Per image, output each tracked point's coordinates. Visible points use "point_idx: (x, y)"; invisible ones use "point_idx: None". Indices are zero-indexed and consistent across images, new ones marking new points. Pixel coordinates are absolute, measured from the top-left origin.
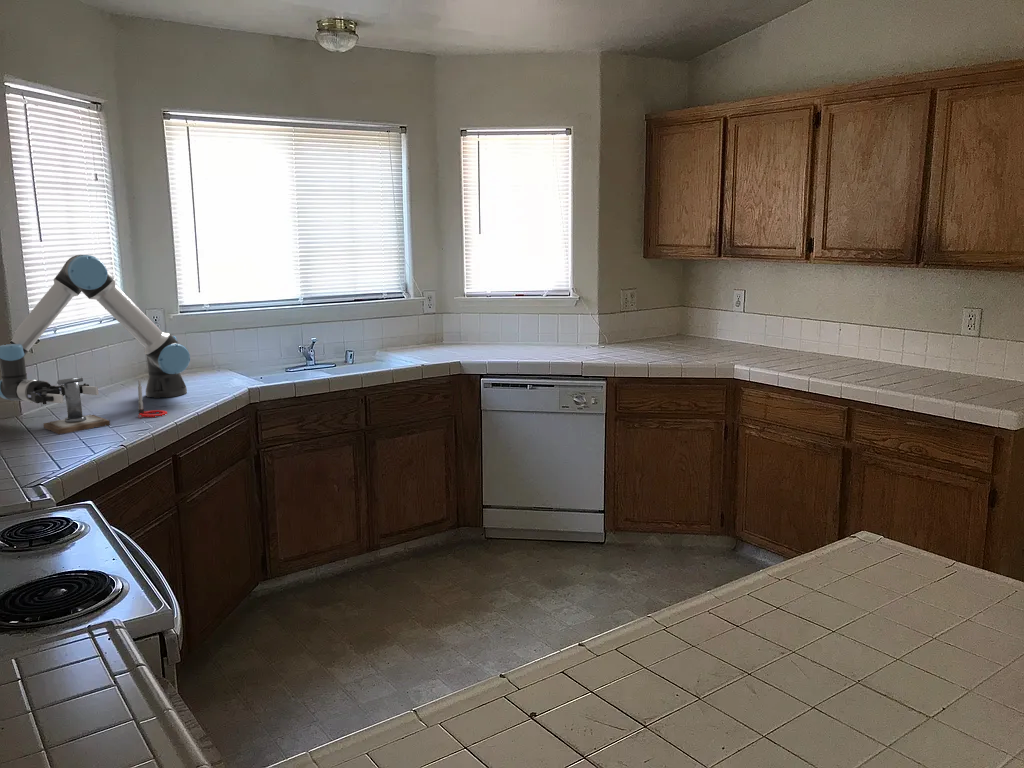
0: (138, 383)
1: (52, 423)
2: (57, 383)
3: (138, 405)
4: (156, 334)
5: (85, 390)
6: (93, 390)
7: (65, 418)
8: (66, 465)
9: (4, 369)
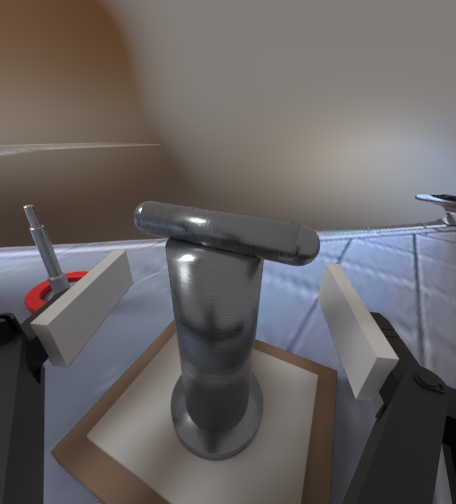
0: (35, 216)
1: None
2: (316, 256)
3: (64, 286)
4: None
5: (78, 325)
6: (119, 276)
7: (245, 436)
8: (404, 236)
9: None
